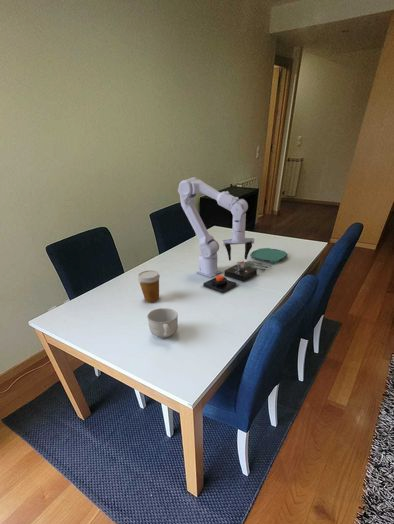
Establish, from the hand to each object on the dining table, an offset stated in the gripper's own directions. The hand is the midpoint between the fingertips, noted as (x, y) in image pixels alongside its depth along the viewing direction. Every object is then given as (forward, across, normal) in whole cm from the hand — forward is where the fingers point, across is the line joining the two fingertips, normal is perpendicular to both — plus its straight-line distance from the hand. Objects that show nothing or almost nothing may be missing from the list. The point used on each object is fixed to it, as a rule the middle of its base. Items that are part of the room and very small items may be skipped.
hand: (237, 259), depth 140 cm
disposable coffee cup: (+9, +41, +18) cm, 46 cm away
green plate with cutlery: (+9, -18, -20) cm, 28 cm away
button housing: (+9, +10, +9) cm, 16 cm away
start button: (+6, +10, +9) cm, 15 cm away
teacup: (+9, +34, +47) cm, 59 cm away
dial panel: (+9, -2, -2) cm, 9 cm away
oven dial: (+6, -2, -2) cm, 7 cm away
